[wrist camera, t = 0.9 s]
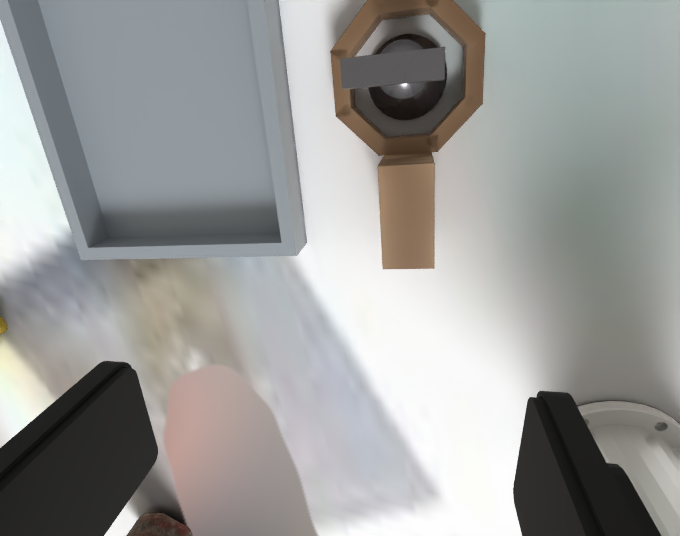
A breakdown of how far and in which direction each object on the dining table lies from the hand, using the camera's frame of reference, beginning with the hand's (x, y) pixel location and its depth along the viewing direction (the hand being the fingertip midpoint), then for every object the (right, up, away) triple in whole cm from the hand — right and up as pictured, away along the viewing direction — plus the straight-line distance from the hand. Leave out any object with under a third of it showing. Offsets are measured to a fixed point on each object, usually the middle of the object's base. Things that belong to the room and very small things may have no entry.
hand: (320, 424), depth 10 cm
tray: (-12, +16, +20) cm, 28 cm away
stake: (+5, +16, +17) cm, 24 cm away
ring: (+5, +13, +18) cm, 23 cm away
